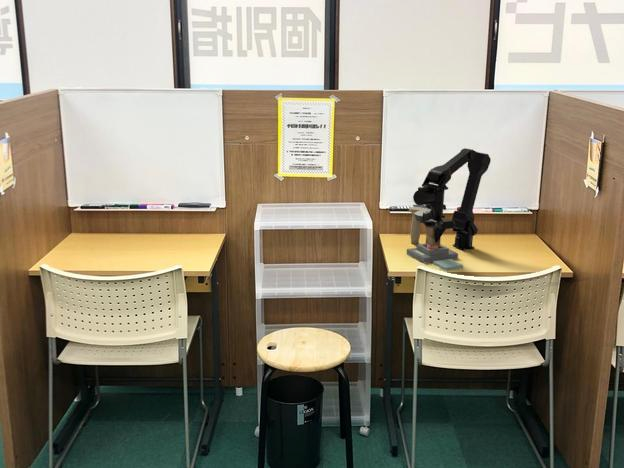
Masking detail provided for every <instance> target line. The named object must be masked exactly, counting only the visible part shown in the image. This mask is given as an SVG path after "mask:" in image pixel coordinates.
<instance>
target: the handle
mask: <svg viewBox="0 0 624 468" xmlns="http://www.w3.org/2000/svg"><path fill="white" fill-rule="evenodd" d="M424 208H425V207H419V206H410V207H409V208H408V211H409V212H410V213H411V214H412V217H411V226H410V243H411V244H414V245H417V244H420V243H419V242H420V238H421V223H420V222H419V221H416V218H415V214H414V213H415V212H417V211H419V210H421V209H424Z"/></svg>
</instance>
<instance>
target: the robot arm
mask: <svg viewBox="0 0 624 468" xmlns="http://www.w3.org/2000/svg"><path fill="white" fill-rule="evenodd" d="M491 162H492V161H491V157H490V155H489V154H488V153H485V152H478V151H476V150H474V149H473V148H472V149H471V148H466V147H464V148H462V149H460V152H458V153H457V154H455V155H454V156H453V157H451V158H450V159H449V160H448V161H446V162H445V163H444V164H442V165H437V166H434V167H433V168H431V169H429V171H428V173H427V175H426V177H425V178H424V181H423V182H422V184H421V186H419V187H417V190H416V191H415V192H414V193H413V196H412V197H413V201H414V203H415V204H416V206H418V207H419V206H425V207H423V208H424V209H421V210H419V211H417V212H415V213H414V214H415V218H416V221H419V222H420V224H423V225H424V226H425V230H426V231H427V226H432V227H433V228H434V229H435V242H438V241H439V239H440V237H441V238H442V235H443V234H444V233H445V231H446V230H449V229H452V232H454V233H455V232H456V234H455V237H454V244H452V246H453V247H455V248H457V249H460V250H461V251H464V250H470V249H475V246H473V242H474V241H473V240H474V236H476V235H477V233H478V231H479V229H478V227H477V226H476V224H475V215H474V211H473V210H474V205H475V202H476V199H477V196H478V192H479V191H478V190H479V188H480V183H481V179H482V177H483V175H484V174H485V173H486V172H487V171H488V169H489V166H490V164H491ZM464 165H467V169H468V172H469V173H468V177H467V181H466V185H465V189H464V193H463V196H462V200H461V204H460V206H459V208H457V210H454V211H453V214H452V218H451V219H449V218H446V217H445V216H446V215H445V214H444V208H446V207H447V205H446V204H445V203H444V202H445V191H447V190H449V187H448V186H447V184H448V183H449V182H450V180H452V175H453V174H454V173H455V172H456V171H458V170H460V168H462V167H463V166H464ZM434 225H436V226H434ZM440 240H441V239H440Z"/></svg>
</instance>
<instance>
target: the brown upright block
mask: <svg viewBox="0 0 624 468" xmlns="http://www.w3.org/2000/svg"><path fill="white" fill-rule="evenodd" d="M434 226H436V225H434ZM425 235H426V236H425V243H426V244H428V245H430V246H437V245H440V244H441V238H442V236H441V237H440V239H439V241H438V242H435V229H434V228H433V227H432V226H427V230H426V233H425Z"/></svg>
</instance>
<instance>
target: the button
mask: <svg viewBox="0 0 624 468" xmlns="http://www.w3.org/2000/svg"><path fill="white" fill-rule="evenodd" d="M427 248H429V249H438V245H437V246H430V245H428V244H427Z"/></svg>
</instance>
